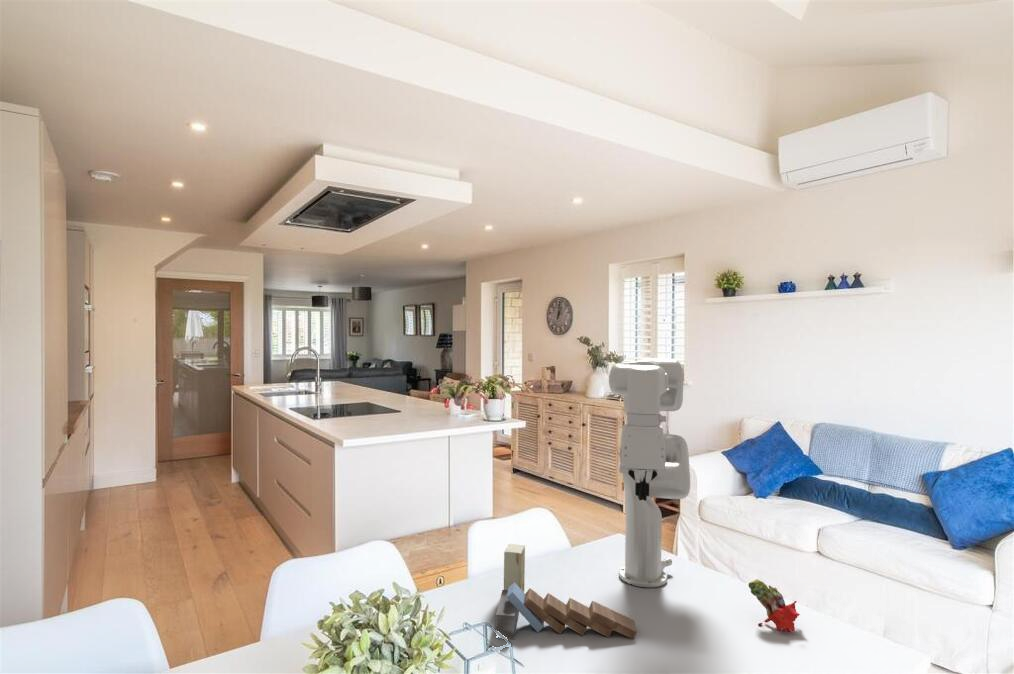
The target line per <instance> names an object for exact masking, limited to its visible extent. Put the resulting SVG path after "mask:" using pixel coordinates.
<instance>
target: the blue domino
mask: <svg viewBox="0 0 1014 674" xmlns="http://www.w3.org/2000/svg"><path fill="white" fill-rule="evenodd" d="M525 594H526V592H525V591H524V592H523V591H522V590H521V589H520V588H519V587H518V585H517V584H516V583H515V582H514V583H513V584H512V585H511V586H510V587H509V589H508V593H507V598H508V600H509V601H510V602H511V603H512V604H513V605H514V606H515V607H516V609H517V610H518V611H519V614H520V615H521V616H522V617H523V618H524V619H525V620H526V621H527V622H528V624H530V625H531V627H532V628H533V630H535V631H536V632H537V633H539V632H540V631H541V630H543V628H544V625H545V621H543V620H542V619H541V618H540V617H538V616H537V615H536V614H535V613H534V612H532V611H531V610H530V609H529V608H527V607H526V606H525V605H524V598H525Z"/></svg>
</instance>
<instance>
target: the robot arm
mask: <svg viewBox="0 0 1014 674" xmlns="http://www.w3.org/2000/svg"><path fill="white" fill-rule="evenodd" d="M684 374H685V373H684V369H683V367H682V364H681V363H680V361H678V360H677V359H675V358H642V359H639V360H636V361H630V362H619V363H615V364H614V365H612V367H611V368H610V371H609V377H608V385H609V388H610V391H611V393H613V394H614V395H617V396H623V406H624V411H625V416H626V424H623V426H622V430H621V434H620V447H619V468H618V471H619V472H620V473H621V474H622V481H623V482H622V483H623V489H624V497H625V498H624V500H625V503H624V504H625V529H624V530H625V533H624V534H625V535H624V536H625V537H624V538H625V543H624V544H625V546H624V547H625V548H624V566H622V567H621V568H620V569H619V571H618V575H619V579H621V580H622V581H623V582H625V583H626V582H627V583H626V584H629V585H631V584H632V585H631V586H636V587H639V588H640V587H641V588H658V587H662V586H664V585H665V584H666V583H667V582H668V575H667V573H666V572H664V569H665V568H666V567H670V566H672V564H673V560H672V559H671V558H670V557H667V558H664V559H663V558H662V539H663V538H662V532H663V531H662V525H663V524H662V523H663V521H662V520H663V519H662V518H663V516H662V512H661V509H660V508H659V506H658V505H657V503H656V501H655V500H654V499H658V498H659V499H669V500H682V499H686V498H687V497H688V495H689V494H690V491H691V472H690V471H691V470H690V459H689V448H688V443H687V441H686V440H685V438H684V437H683V436H681V435H677V434H672V433H671V434H670V433H664V429H663V426H662V425H661V424H662V423H665V422H667V416H666V415H662V414H661V412H677V411H678V410H680V409H681V408H682V406H683V400H684V384H685V383H684V381H685V378H684ZM653 498H654V499H653Z"/></svg>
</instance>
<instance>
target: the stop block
mask: <svg viewBox="0 0 1014 674" xmlns="http://www.w3.org/2000/svg"><path fill="white" fill-rule="evenodd" d="M507 593H508V590H504V589H502V590H501V594H500V598H499V602H498V606H497V610H496V613H495V631H496V630H497V631H499V632H500V633H501V634H502V635H504V636H505V637H507V638H508V639H507V640H515V637H516V631H517V627H518V622H519V614H520V612H519V611H518V610H517V609H516V607H515V606H514V605H513V604H512V603H511V602H510V601H509V600H508V598H507ZM496 636H497V635H496V634H495V637H496ZM497 639H500V638H499V637H498V638H497Z"/></svg>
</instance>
